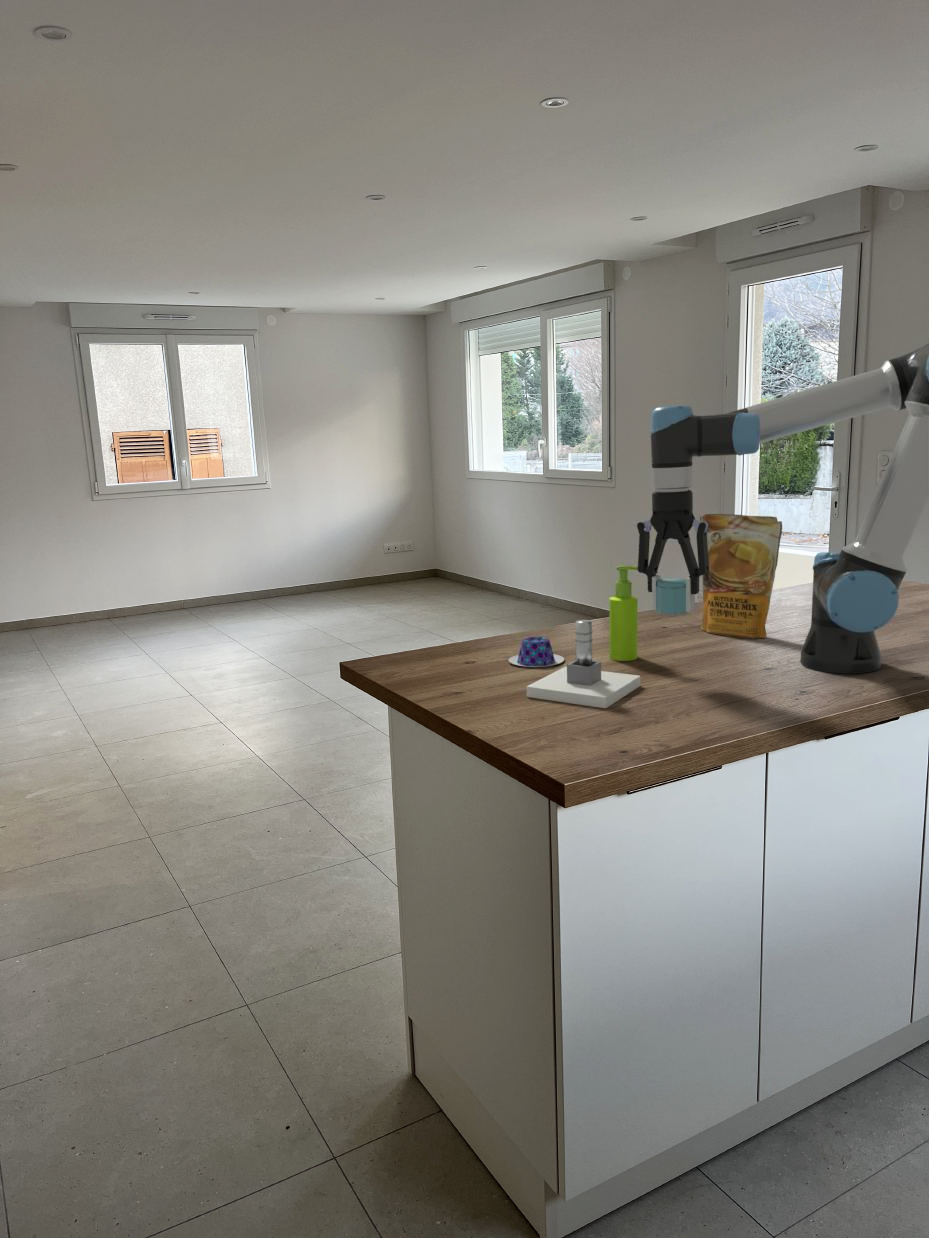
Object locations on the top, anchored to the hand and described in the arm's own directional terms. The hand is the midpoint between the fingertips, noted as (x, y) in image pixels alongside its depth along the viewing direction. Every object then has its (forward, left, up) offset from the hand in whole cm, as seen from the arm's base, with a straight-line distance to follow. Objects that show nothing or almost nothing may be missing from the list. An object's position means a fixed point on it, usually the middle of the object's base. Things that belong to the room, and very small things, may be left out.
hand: (673, 609), depth 175 cm
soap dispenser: (+14, -11, -14) cm, 23 cm away
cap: (0, 0, 0) cm, 0 cm away
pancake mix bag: (0, -43, -14) cm, 45 cm away
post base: (+11, +16, -14) cm, 24 cm away
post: (+11, +16, -10) cm, 22 cm away
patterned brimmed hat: (+30, 0, -14) cm, 33 cm away
